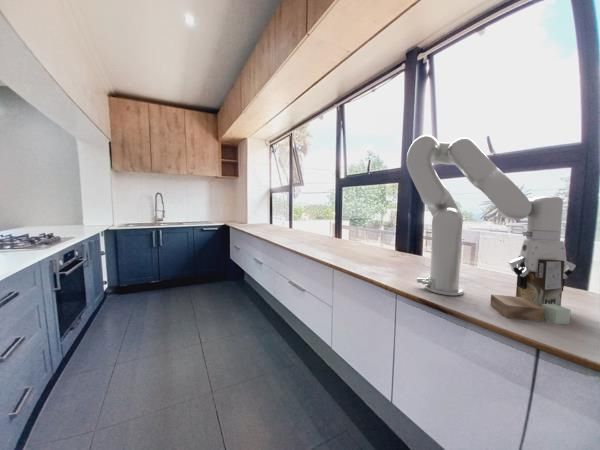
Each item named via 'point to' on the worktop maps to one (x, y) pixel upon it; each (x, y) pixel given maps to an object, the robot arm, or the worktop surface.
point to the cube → (556, 313)
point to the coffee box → (544, 283)
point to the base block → (517, 307)
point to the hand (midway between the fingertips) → (539, 288)
